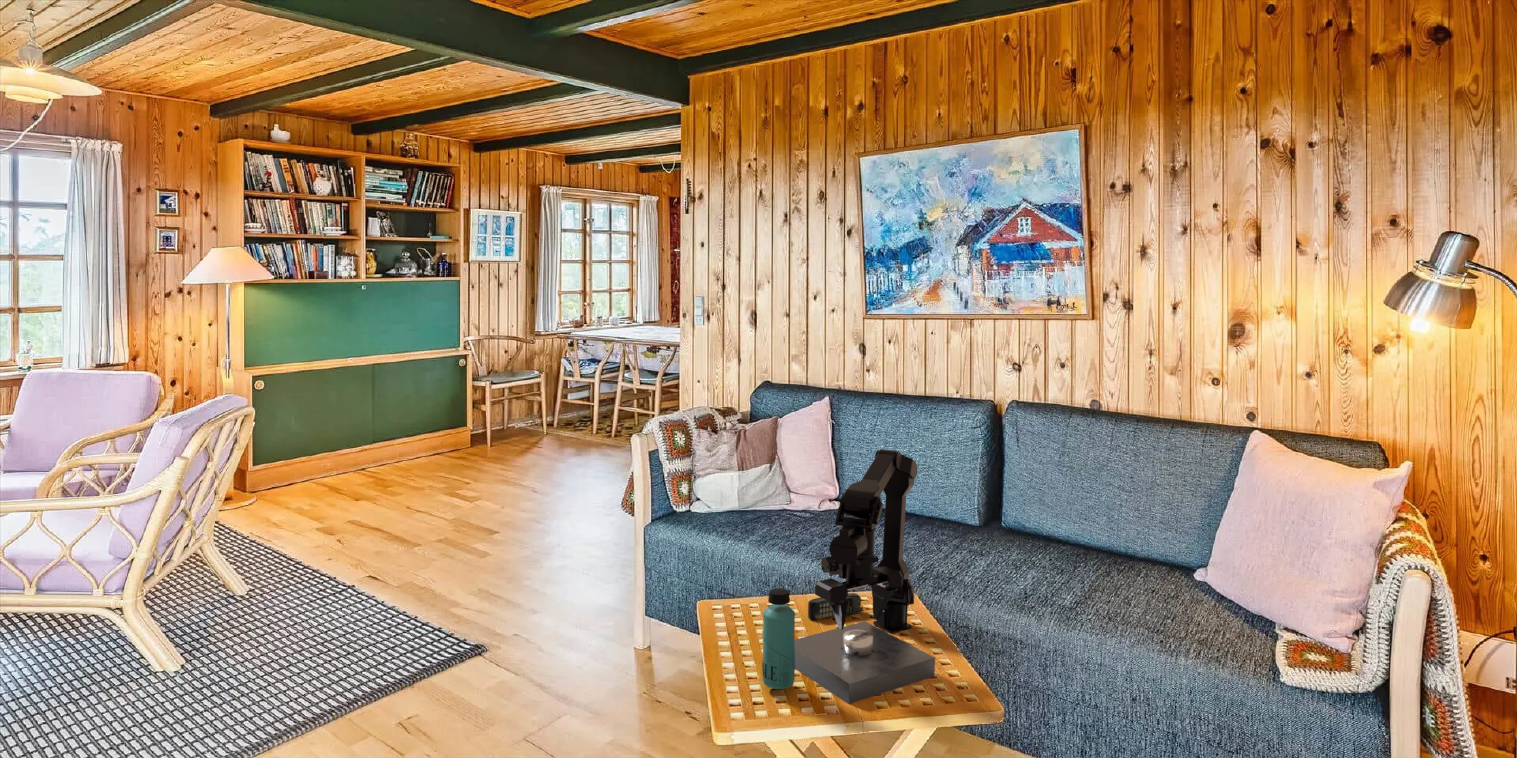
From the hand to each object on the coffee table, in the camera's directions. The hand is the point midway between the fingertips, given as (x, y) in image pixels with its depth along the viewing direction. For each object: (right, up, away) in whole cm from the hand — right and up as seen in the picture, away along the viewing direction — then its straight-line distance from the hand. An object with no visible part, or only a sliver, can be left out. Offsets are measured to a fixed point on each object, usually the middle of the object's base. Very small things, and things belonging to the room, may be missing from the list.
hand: (858, 624), depth 179 cm
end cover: (0, -9, +1) cm, 10 cm away
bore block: (0, -9, +1) cm, 10 cm away
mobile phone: (-2, -7, +30) cm, 30 cm away
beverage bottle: (-17, -11, -8) cm, 21 cm away
